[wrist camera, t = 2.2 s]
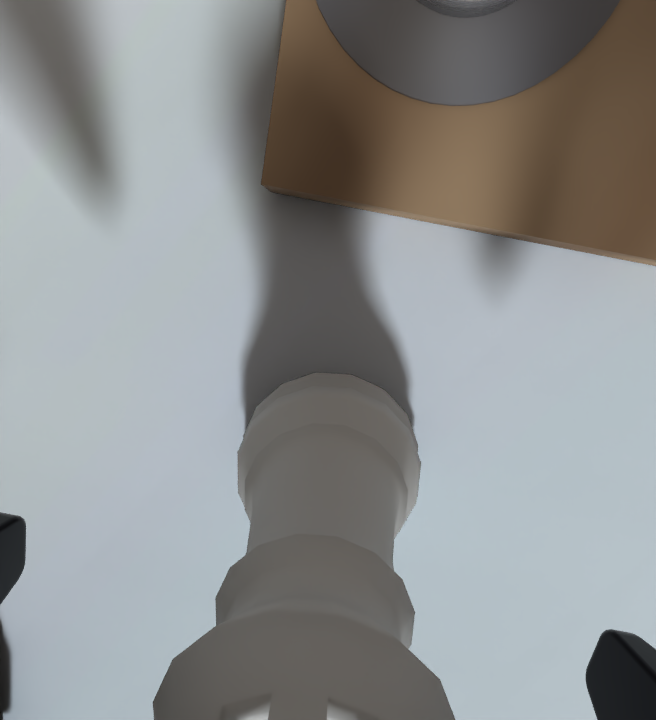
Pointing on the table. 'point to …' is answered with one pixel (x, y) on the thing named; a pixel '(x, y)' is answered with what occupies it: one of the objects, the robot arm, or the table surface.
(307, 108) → the board
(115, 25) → the table surface
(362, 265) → the table surface
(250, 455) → the rook chess piece
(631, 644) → the robot arm
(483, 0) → the point post
